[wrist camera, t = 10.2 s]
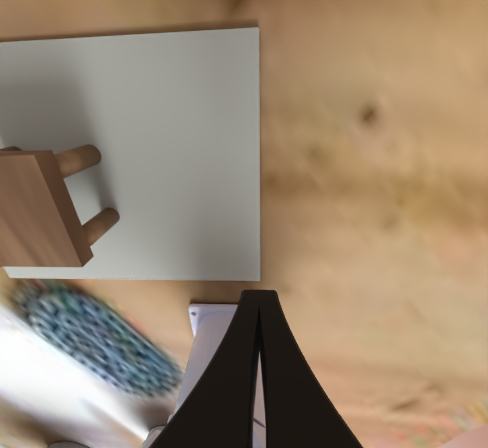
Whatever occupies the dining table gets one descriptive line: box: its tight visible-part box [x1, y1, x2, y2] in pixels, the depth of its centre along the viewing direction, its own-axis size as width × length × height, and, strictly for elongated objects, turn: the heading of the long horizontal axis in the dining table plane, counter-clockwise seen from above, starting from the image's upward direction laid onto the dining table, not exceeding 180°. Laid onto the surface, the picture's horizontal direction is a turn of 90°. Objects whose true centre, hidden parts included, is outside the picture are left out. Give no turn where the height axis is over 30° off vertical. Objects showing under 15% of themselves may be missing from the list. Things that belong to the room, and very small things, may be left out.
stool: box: [0, 144, 120, 267], centre depth 16 cm, size 5×7×7 cm
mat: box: [0, 27, 260, 281], centre depth 19 cm, size 18×24×1 cm
